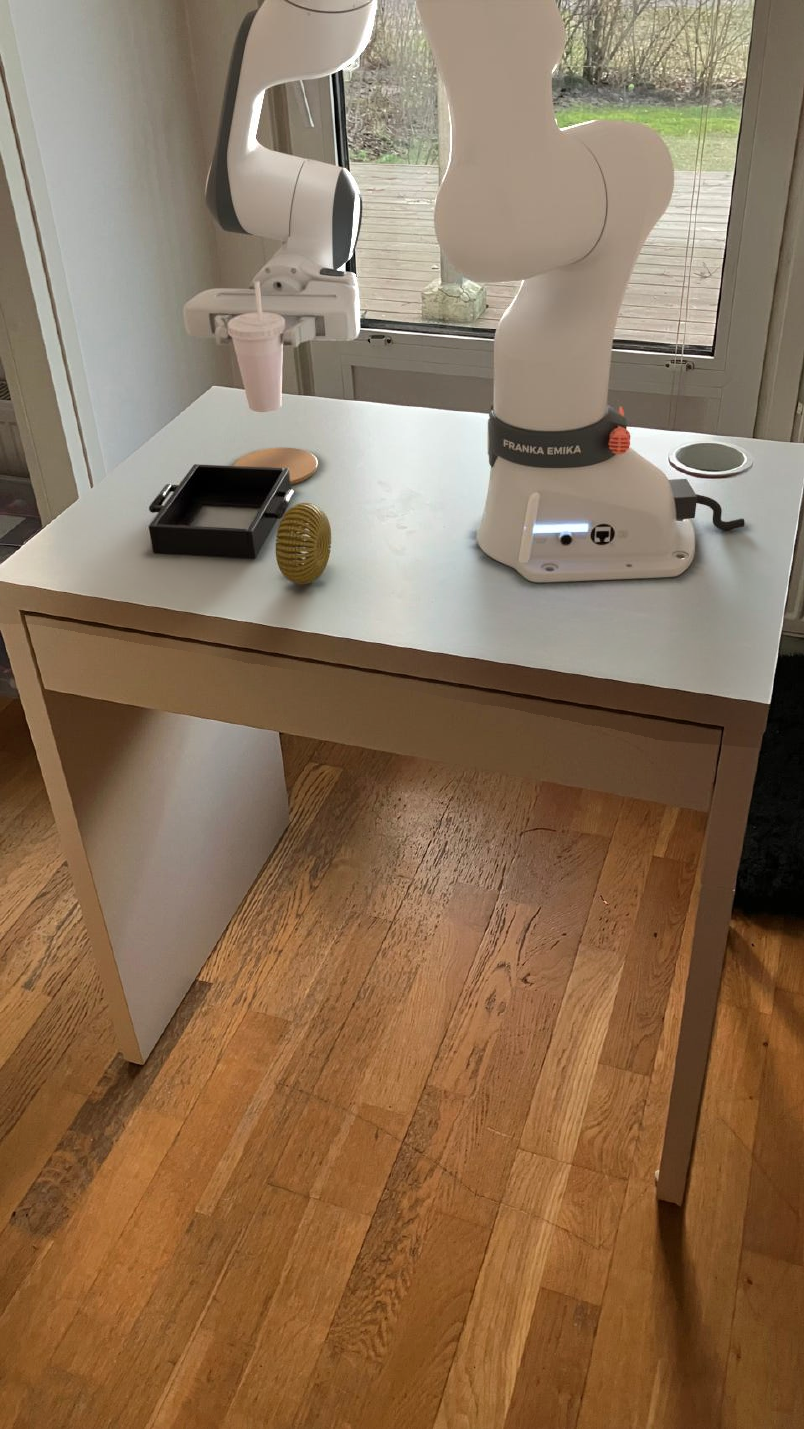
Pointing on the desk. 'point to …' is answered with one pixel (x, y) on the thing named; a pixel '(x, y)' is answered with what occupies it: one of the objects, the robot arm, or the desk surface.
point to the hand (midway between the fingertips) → (255, 339)
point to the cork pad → (283, 461)
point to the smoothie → (259, 355)
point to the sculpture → (303, 543)
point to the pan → (223, 490)
